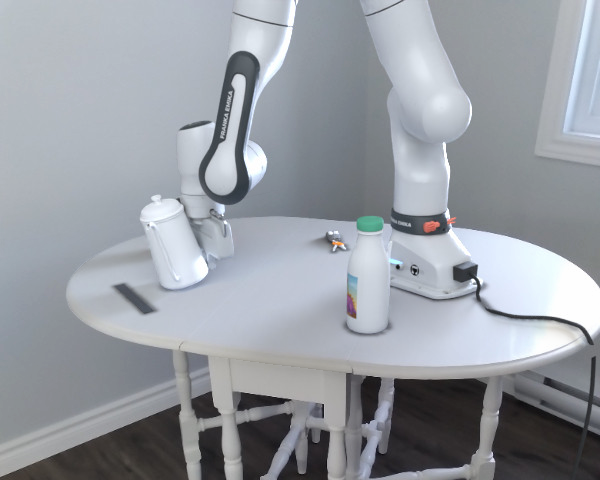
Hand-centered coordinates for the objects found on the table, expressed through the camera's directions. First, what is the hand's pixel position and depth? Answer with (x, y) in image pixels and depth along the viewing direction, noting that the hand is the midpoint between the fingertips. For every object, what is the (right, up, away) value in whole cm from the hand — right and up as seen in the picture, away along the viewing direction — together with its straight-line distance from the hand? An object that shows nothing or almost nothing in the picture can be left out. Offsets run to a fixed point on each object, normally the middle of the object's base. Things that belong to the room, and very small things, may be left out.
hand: (209, 267), depth 142 cm
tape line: (-15, -8, -7) cm, 19 cm away
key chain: (+29, +10, +19) cm, 36 cm away
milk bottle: (+33, -16, -23) cm, 43 cm away
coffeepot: (-5, -3, -2) cm, 7 cm away
